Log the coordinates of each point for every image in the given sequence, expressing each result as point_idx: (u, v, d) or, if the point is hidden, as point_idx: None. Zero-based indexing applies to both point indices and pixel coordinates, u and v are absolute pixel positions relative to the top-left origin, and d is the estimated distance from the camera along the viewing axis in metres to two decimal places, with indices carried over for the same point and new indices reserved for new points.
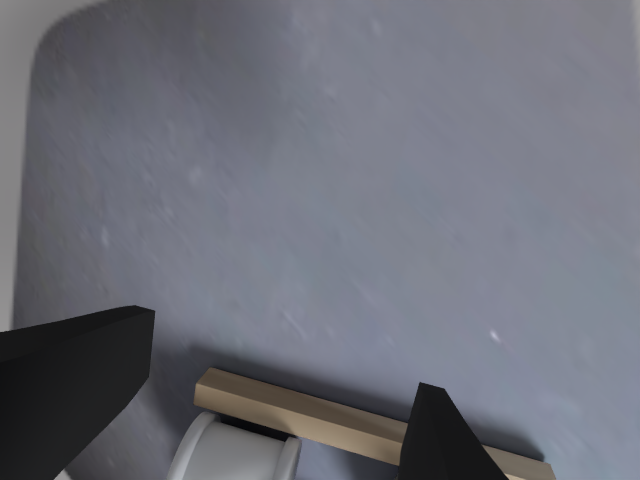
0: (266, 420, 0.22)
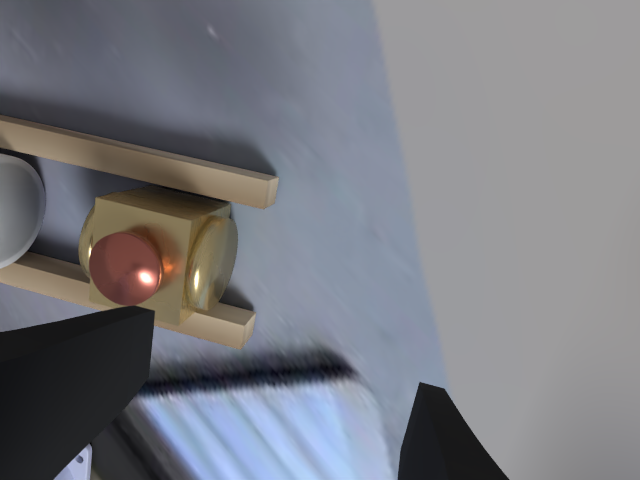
0: None
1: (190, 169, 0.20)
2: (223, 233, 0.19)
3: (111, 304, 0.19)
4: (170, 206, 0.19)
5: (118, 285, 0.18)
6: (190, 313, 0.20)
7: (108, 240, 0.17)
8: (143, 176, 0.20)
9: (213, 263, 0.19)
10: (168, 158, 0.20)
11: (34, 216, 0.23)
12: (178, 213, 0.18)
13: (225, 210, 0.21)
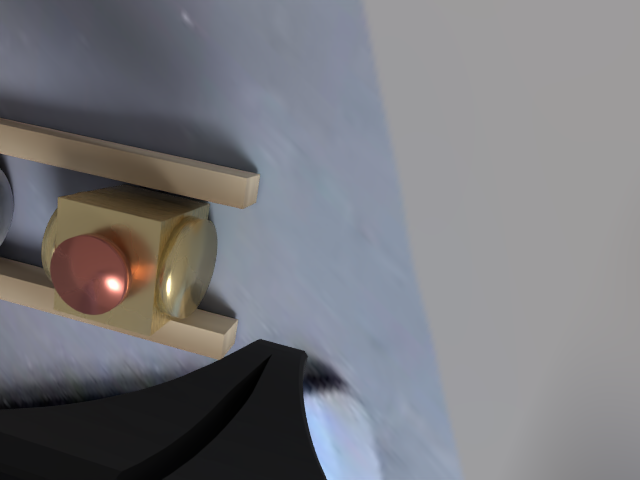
0: None
1: (163, 166, 0.18)
2: (199, 235, 0.18)
3: (77, 313, 0.18)
4: (141, 206, 0.17)
5: (82, 292, 0.16)
6: (164, 322, 0.18)
7: (70, 243, 0.16)
8: (113, 174, 0.19)
9: (188, 268, 0.18)
10: (140, 154, 0.18)
11: (0, 218, 0.21)
12: (148, 213, 0.17)
13: (203, 210, 0.19)
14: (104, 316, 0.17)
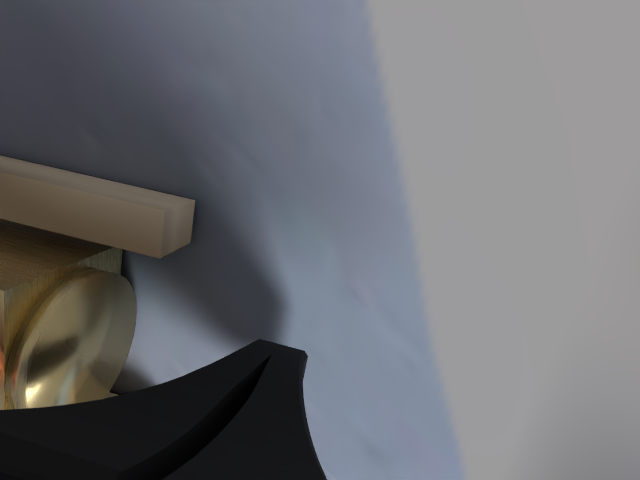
0: None
1: (36, 190, 0.11)
2: (92, 300, 0.11)
3: None
4: None
5: None
6: None
7: None
8: None
9: (71, 354, 0.11)
10: (1, 171, 0.12)
11: None
12: None
13: (109, 255, 0.13)
14: None
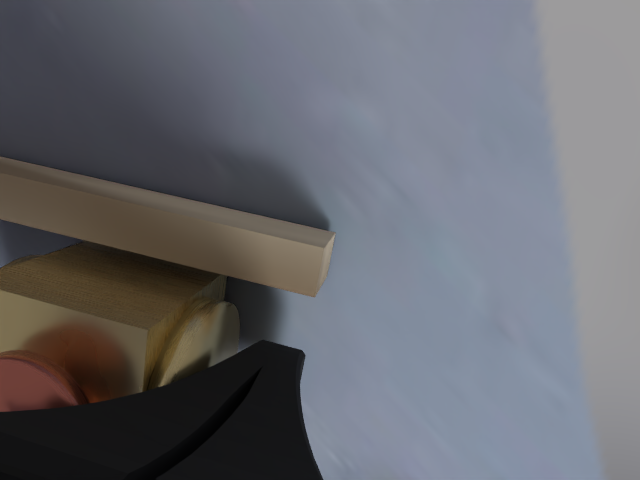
0: None
1: (181, 225, 0.11)
2: (213, 332, 0.11)
3: None
4: (116, 288, 0.10)
5: None
6: None
7: None
8: (99, 236, 0.11)
9: None
10: (142, 205, 0.11)
11: None
12: (126, 308, 0.10)
13: (218, 283, 0.12)
14: None
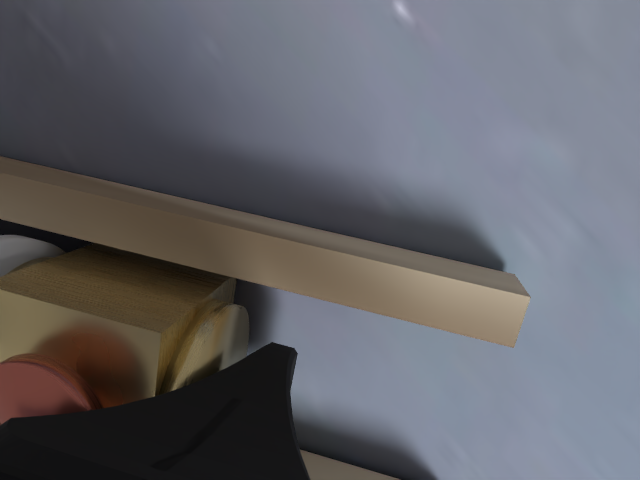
0: None
1: (369, 270, 0.10)
2: (225, 335, 0.11)
3: None
4: (127, 291, 0.10)
5: None
6: None
7: None
8: (273, 280, 0.11)
9: None
10: (325, 248, 0.10)
11: None
12: (138, 311, 0.10)
13: (228, 285, 0.12)
14: None
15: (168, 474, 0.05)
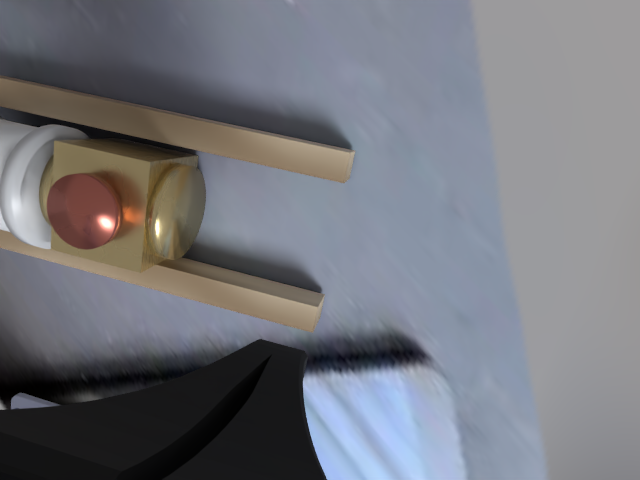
0: (46, 109, 0.20)
1: (266, 141, 0.19)
2: (187, 180, 0.19)
3: (73, 252, 0.19)
4: (132, 151, 0.19)
5: (76, 228, 0.17)
6: (154, 262, 0.19)
7: (65, 181, 0.17)
8: (214, 149, 0.19)
9: (176, 210, 0.19)
10: (242, 130, 0.19)
11: None
12: (138, 156, 0.18)
13: (191, 160, 0.20)
14: (97, 255, 0.18)
15: None
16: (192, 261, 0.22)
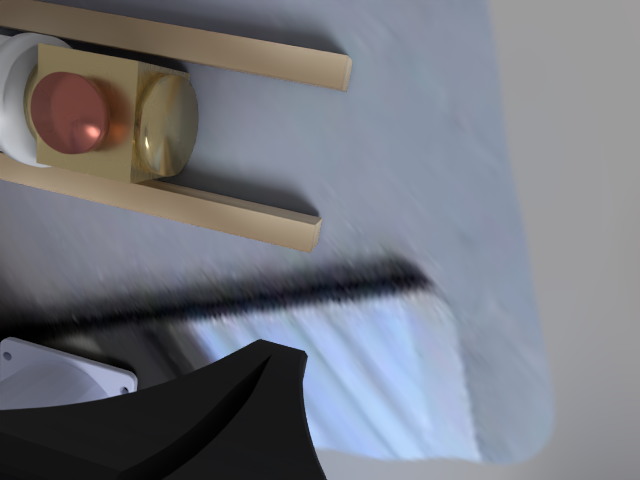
0: (32, 23, 0.19)
1: (259, 47, 0.18)
2: (178, 91, 0.18)
3: (59, 164, 0.18)
4: None
5: (61, 131, 0.16)
6: (144, 177, 0.18)
7: (49, 80, 0.16)
8: (205, 58, 0.18)
9: (167, 120, 0.18)
10: (234, 36, 0.18)
11: None
12: None
13: (183, 76, 0.20)
14: (84, 166, 0.18)
15: None
16: (185, 187, 0.21)
